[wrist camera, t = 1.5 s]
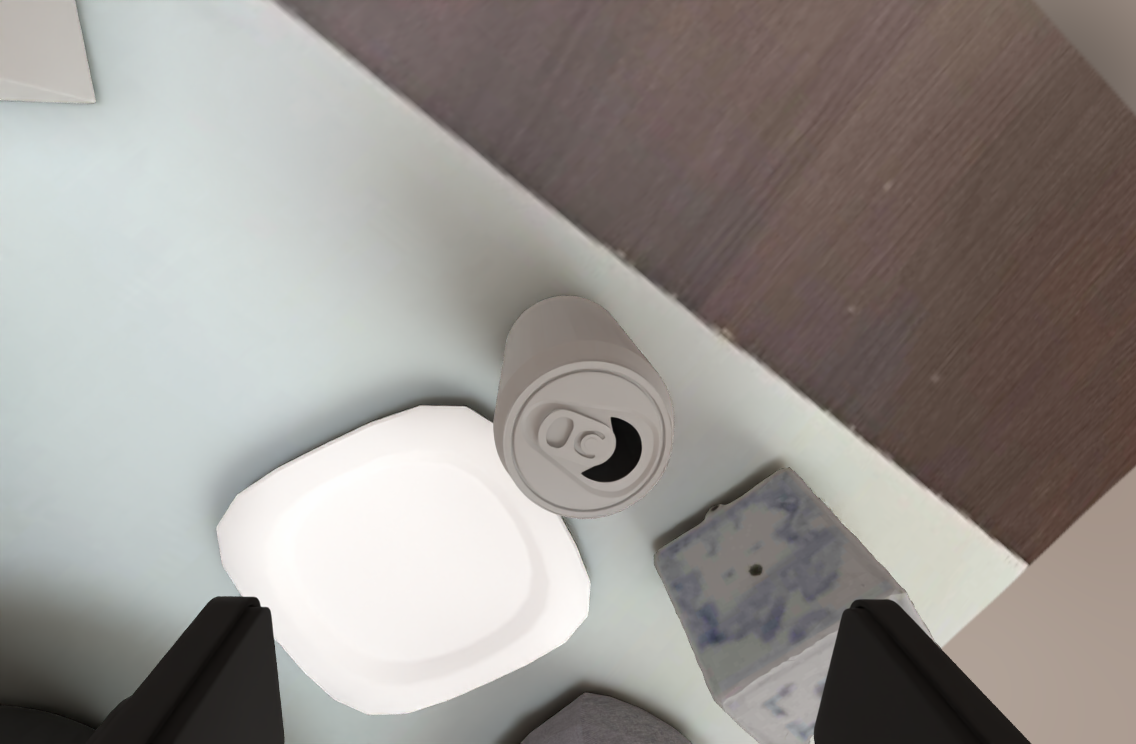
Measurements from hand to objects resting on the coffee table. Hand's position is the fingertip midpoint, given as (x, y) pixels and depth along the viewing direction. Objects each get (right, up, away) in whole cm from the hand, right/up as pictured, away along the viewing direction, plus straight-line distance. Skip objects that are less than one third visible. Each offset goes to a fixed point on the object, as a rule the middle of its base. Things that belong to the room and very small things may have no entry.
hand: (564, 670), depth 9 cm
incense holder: (+11, -6, +25) cm, 28 cm away
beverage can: (0, +6, +20) cm, 21 cm away
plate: (-9, -6, +23) cm, 26 cm away
